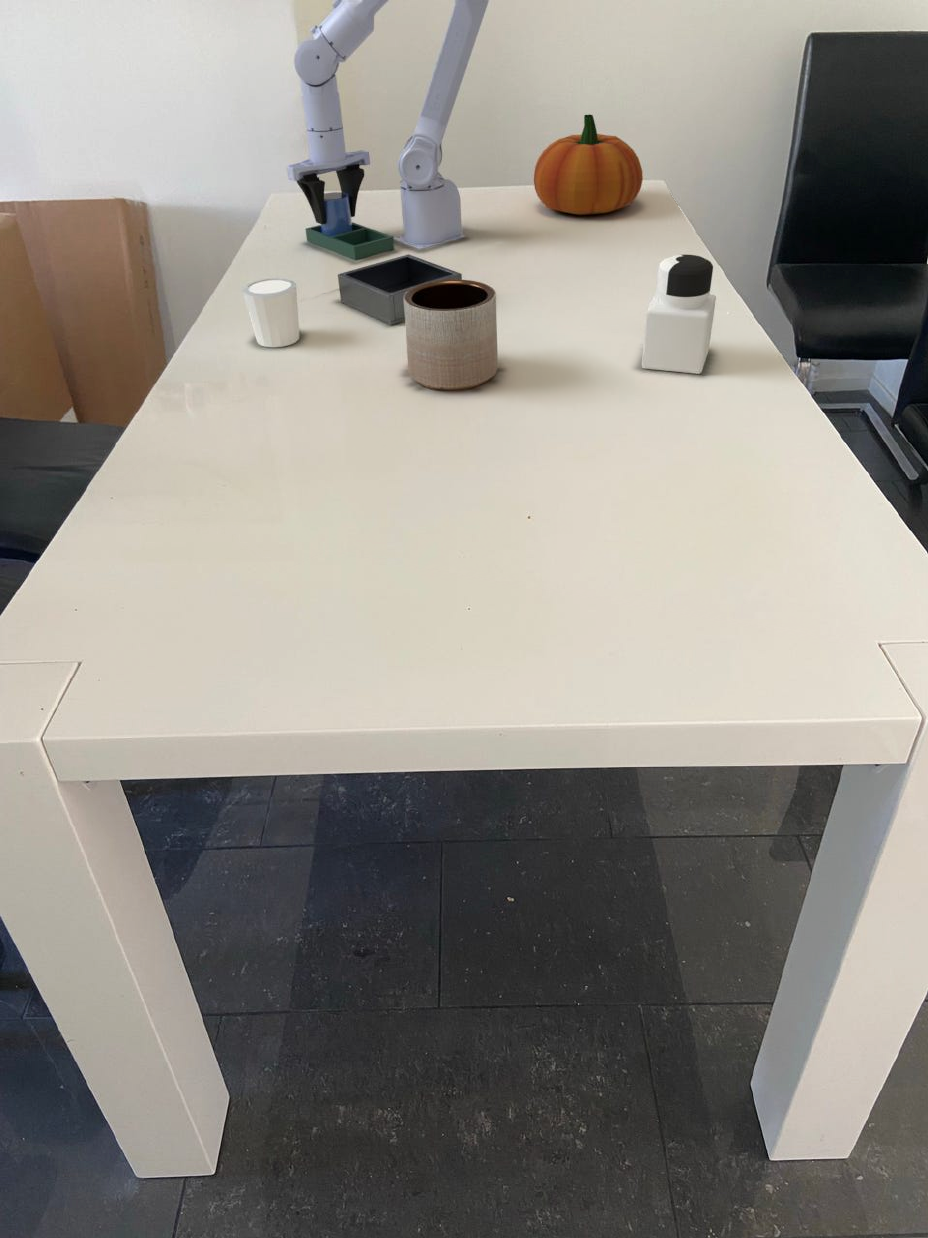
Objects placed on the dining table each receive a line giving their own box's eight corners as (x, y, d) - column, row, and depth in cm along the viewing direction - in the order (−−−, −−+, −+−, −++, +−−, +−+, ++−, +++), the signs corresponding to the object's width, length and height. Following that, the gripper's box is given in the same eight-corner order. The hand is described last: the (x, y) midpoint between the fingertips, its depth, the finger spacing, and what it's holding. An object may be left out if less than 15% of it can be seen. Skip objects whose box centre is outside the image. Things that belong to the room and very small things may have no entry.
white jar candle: (309, 329, 122) (301, 276, 118) (297, 349, 117) (288, 295, 112) (260, 329, 123) (250, 277, 118) (246, 349, 118) (235, 295, 113)
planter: (511, 362, 111) (511, 283, 105) (475, 398, 103) (473, 316, 97) (433, 350, 115) (428, 274, 109) (392, 384, 107) (385, 304, 101)
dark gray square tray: (410, 281, 136) (408, 253, 133) (463, 301, 128) (461, 273, 126) (340, 302, 130) (337, 274, 127) (391, 325, 122) (388, 295, 120)
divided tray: (345, 233, 156) (343, 218, 155) (394, 252, 147) (393, 236, 146) (307, 243, 153) (305, 228, 151) (355, 263, 143) (353, 247, 142)
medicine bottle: (708, 351, 111) (722, 251, 104) (701, 375, 106) (715, 271, 98) (651, 346, 113) (660, 247, 106) (640, 368, 108) (650, 266, 100)
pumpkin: (627, 190, 171) (634, 101, 162) (650, 218, 156) (658, 121, 147) (527, 196, 171) (527, 107, 161) (540, 225, 156) (541, 128, 146)
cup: (342, 233, 155) (337, 189, 150) (359, 240, 151) (354, 195, 147) (317, 240, 152) (311, 196, 148) (333, 247, 149) (328, 201, 144)
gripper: (349, 117, 147) (358, 205, 155) (271, 131, 140) (285, 223, 149) (373, 122, 143) (381, 213, 151) (294, 138, 136) (308, 232, 144)
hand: (335, 219), depth 150 cm, fingers closed on cup, 5 cm apart
